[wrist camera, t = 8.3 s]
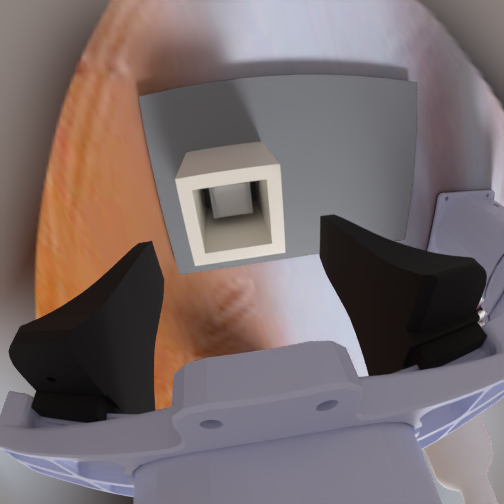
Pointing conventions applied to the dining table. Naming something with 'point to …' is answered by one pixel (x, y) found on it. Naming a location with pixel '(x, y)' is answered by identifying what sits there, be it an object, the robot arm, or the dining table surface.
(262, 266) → the dining table surface
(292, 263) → the dining table surface
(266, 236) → the sleeve
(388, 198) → the base plate
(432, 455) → the bottle
